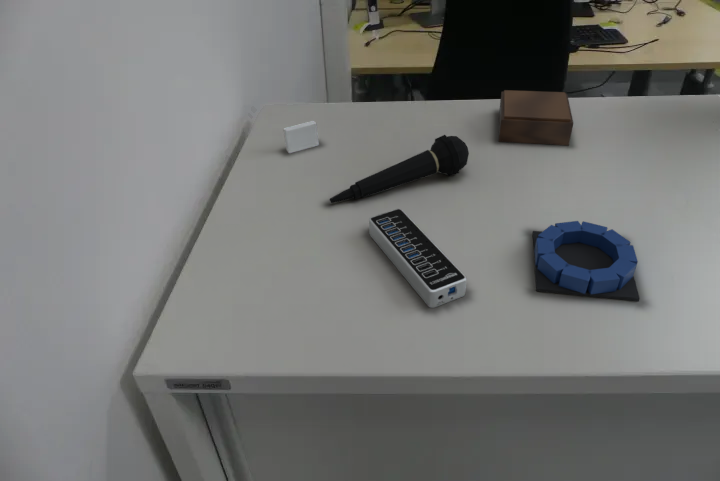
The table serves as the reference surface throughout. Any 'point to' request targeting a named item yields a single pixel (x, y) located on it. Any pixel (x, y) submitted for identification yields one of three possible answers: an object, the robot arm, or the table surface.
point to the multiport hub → (417, 258)
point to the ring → (582, 277)
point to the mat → (588, 260)
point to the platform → (535, 117)
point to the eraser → (301, 136)
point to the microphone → (412, 169)
